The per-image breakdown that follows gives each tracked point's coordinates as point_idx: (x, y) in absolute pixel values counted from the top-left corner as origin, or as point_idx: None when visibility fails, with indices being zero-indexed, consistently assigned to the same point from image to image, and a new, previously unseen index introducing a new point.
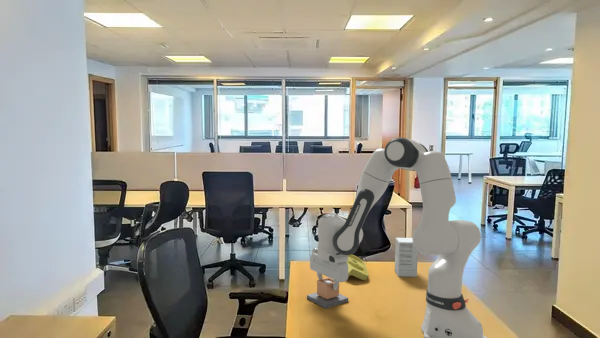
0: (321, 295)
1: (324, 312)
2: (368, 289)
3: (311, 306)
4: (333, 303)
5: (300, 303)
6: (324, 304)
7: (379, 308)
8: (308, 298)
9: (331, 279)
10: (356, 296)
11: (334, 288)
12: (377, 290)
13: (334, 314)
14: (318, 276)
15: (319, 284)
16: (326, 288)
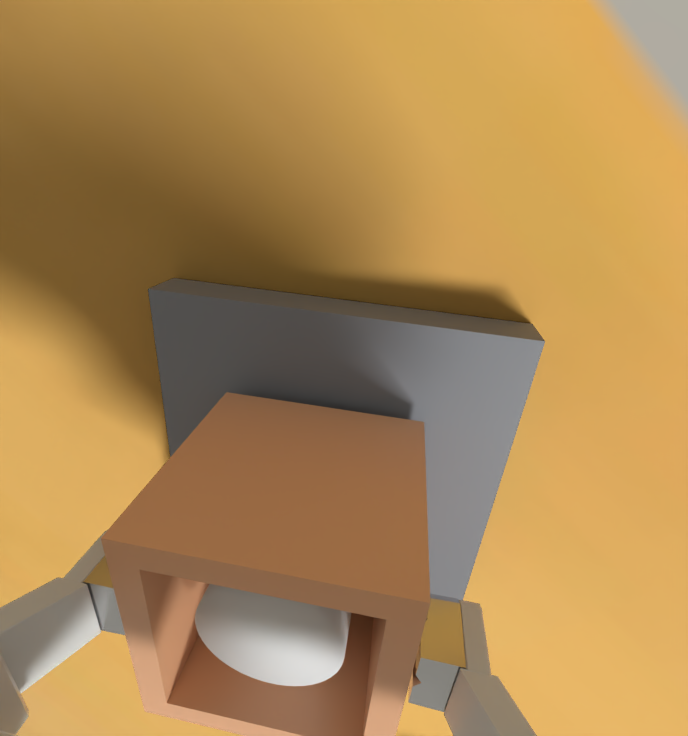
0: (328, 415)
1: (102, 190)
2: None
3: (316, 188)
4: (167, 391)
5: (496, 131)
6: (174, 290)
7: (7, 555)
8: (501, 323)
9: (289, 724)
10: None
11: (97, 545)
12: None
13: (21, 240)
14: (502, 733)
15: (352, 531)
16: (167, 485)
